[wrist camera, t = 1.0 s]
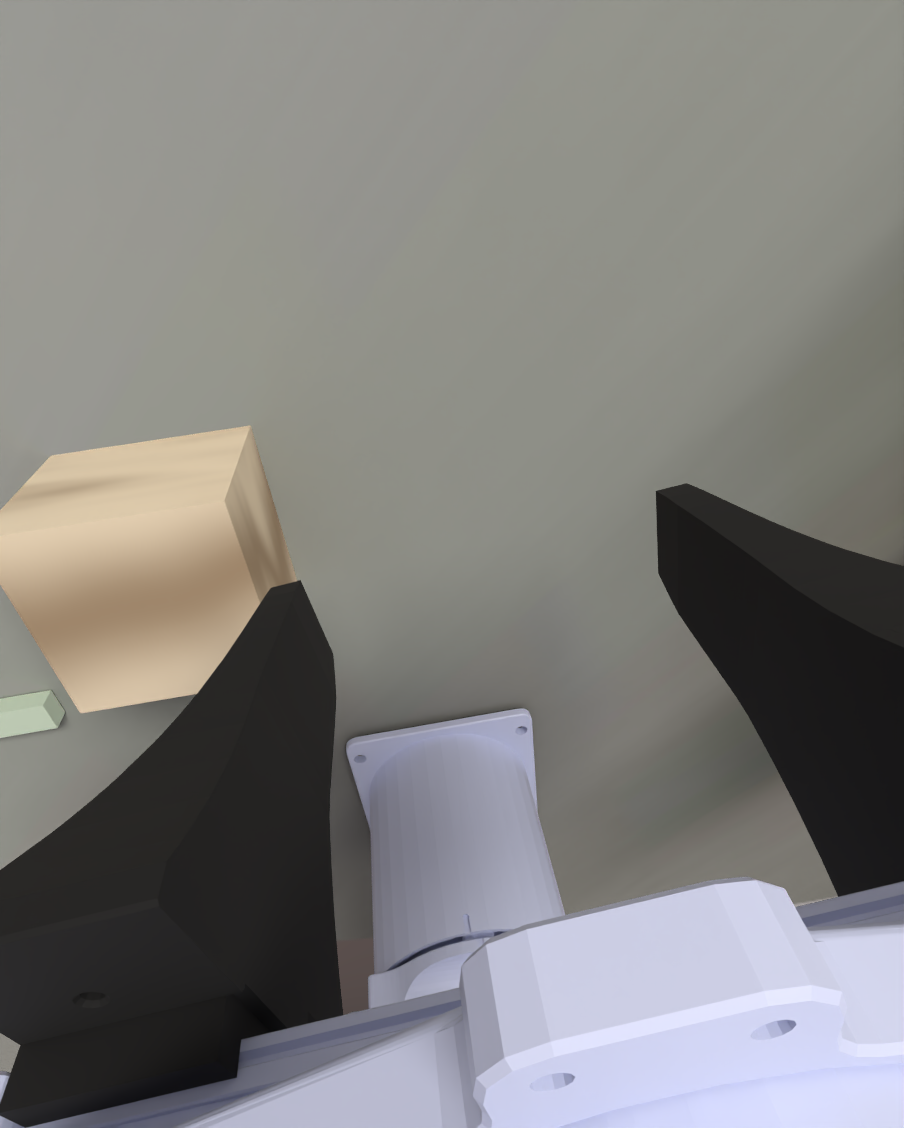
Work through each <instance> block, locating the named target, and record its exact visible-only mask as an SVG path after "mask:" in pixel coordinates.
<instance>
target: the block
mask: <svg viewBox="0 0 904 1128" xmlns="http://www.w3.org/2000/svg"><path fill="white" fill-rule="evenodd" d="M296 581H297V579H296V575H295V572H294V569H293V565H292V562H291V559H290V555H289V552H288V549H287V545H286V542H285V539H284V535H283V532H282V529H281V525H280V522H279V519H278V515H277V512H276V509H275V506H274V502H273V499H272V496H271V492H270V489H269V486H268V482H267V479H266V476H265V472H264V469H263V466H262V462H261V459H260V456H259V452H258V449H257V446H256V442H255V439H254V436H253V432H252V429H251V426H244V427H238V428H231V429H225V430H218V431H211V432H205V433H198V434H192V435H185V436H178V437H172V438H165V439H158V440H152V441H145V442H139V443H132V444H125V445H119V446H112V447H106V448H99V449H92V450H86V451H79V452H73V453H66V454H59V455H53V456H50V457H49V458H48V459H47V460H46V462H45V463H44V464H43V465H42V466H41V467H40V468H39V469H38V470H37V471H36V472H35V473H34V474H33V476H32V477H31V478H30V479H29V480H28V481H27V482H26V483H25V484H24V485H23V486H22V487H21V488H20V490H19V491H18V492H17V493H16V494H15V495H14V496H13V497H12V498H11V499H10V500H9V501H8V502H7V504H6V505H5V506H4V507H3V508H2V509H1V510H0V585H1V586H2V588H3V590H4V591H5V593H6V594H7V596H8V598H9V599H10V601H11V602H12V604H13V606H14V607H15V609H16V610H17V612H18V614H19V615H20V617H21V618H22V620H23V622H24V623H25V625H26V627H27V628H28V630H29V631H30V633H31V635H32V636H33V638H34V639H35V641H36V643H37V644H38V646H39V647H40V649H41V651H42V652H43V654H44V655H45V657H46V659H47V660H48V662H49V663H50V665H51V667H52V668H53V670H54V672H55V673H56V675H57V676H58V678H59V680H60V681H61V683H62V684H63V686H64V688H65V689H66V691H67V692H68V694H69V696H70V697H71V699H72V700H73V702H74V704H75V705H76V707H77V709H78V710H79V712H80V713H86V712H92V711H98V710H104V709H110V708H116V707H122V706H128V705H134V704H140V703H146V702H152V701H158V700H164V699H169V698H175V697H181V696H187V695H193V694H197V693H198V692H199V691H200V689H201V688H202V687H203V685H204V684H205V683H206V681H207V680H208V679H209V677H210V676H211V675H212V673H213V672H214V671H215V669H216V668H217V667H218V665H219V664H220V663H221V661H222V660H223V659H224V657H225V656H226V654H227V653H228V651H229V650H230V648H231V647H232V645H233V644H234V642H235V641H236V639H237V638H238V637H239V635H240V634H241V632H242V631H243V629H244V628H245V626H246V625H247V623H248V621H249V620H250V618H251V617H252V615H253V614H254V612H255V611H256V609H257V608H258V606H259V604H260V603H261V601H262V600H263V598H264V597H265V595H266V594H267V592H268V591H269V590H270V588H272V587H276V586H280V585H284V584H288V583H292V582H296Z"/></svg>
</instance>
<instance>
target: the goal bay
mask: <svg viewBox="0 0 904 1128" xmlns="http://www.w3.org/2000/svg"><path fill="white" fill-rule="evenodd" d="M64 714H65V711H64V709H63V708H62V706H61V705H60V703H59V702H58V700H57V698H56V697H55V695H54V694H53V692H52V691H51V690H49V691H43V692H37V693H31V694H25V695H19V696H14V697H8V698H2V699H0V738H2V737H8V736H14V735H20V734H26V733H32V732H37V731H43V730H49V729H55V728H58V726H59V724H60V722H61V720H62V718H63V716H64Z"/></svg>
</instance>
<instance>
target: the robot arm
mask: <svg viewBox="0 0 904 1128" xmlns="http://www.w3.org/2000/svg"><path fill="white" fill-rule="evenodd" d="M656 509H657V542H658V573H659V575H660V577H661V579H662V582H663V584H664V586H665V588H666V590H667V592H668V594H669V596H670V598H671V600H672V602H673V604H674V606H675V608H676V610H677V611H678V613H679V615H680V616H681V618H682V619H683V621H684V622H685V624H686V625H687V627H688V628H689V630H690V631H691V633H692V634H693V635H694V637H695V638H696V640H697V641H698V643H699V644H700V646H701V647H702V648H703V650H704V651H705V653H706V654H707V656H708V657H709V658H710V660H711V661H712V663H713V664H714V666H715V667H716V668H717V670H718V671H719V673H720V674H721V676H722V677H723V678H724V680H725V681H726V683H727V684H728V686H729V687H730V688H731V690H732V691H733V693H734V694H735V696H736V697H737V699H738V700H739V702H740V703H741V705H742V707H743V708H744V710H745V711H746V713H747V715H748V716H749V718H750V720H751V722H752V723H753V725H754V727H755V729H756V731H757V733H758V735H759V736H760V738H761V740H762V742H763V744H764V746H765V747H766V749H767V751H768V753H769V755H770V757H771V758H772V760H773V762H774V764H775V766H776V768H777V770H778V772H779V774H780V776H781V778H782V780H783V782H784V784H785V786H786V788H787V790H788V791H789V793H790V795H791V797H792V799H793V801H794V803H795V805H796V807H797V809H798V811H799V813H800V816H801V818H802V820H803V822H804V824H805V826H806V828H807V830H808V832H809V834H810V836H811V838H812V840H813V842H814V844H815V847H816V849H817V851H818V853H819V855H820V857H821V859H822V861H823V864H824V866H825V868H826V870H827V872H828V875H829V877H830V879H831V881H832V883H833V886H834V888H835V890H836V892H837V895H838V897H836V898H832V899H827V900H823V901H819V902H815V903H811V904H806V905H802V906H798V907H794V905H793V903H792V901H791V899H790V897H789V896H788V894H787V892H786V890H785V889H784V888H782V887H779V886H776V885H773V884H770V883H767V882H763V881H760V880H757V879H753V878H750V877H738V878H728V879H719V880H709V881H705V882H701V883H697V884H693V885H688V886H684V887H680V888H676V889H672V890H668V891H663V892H659V893H655V894H651V895H647V896H643V897H638V898H634V899H630V900H626V901H622V902H618V903H613V904H609V905H605V906H601V907H597V908H593V909H588V910H584V911H580V912H576V913H572V914H568V915H565V912H564V909H563V905H562V901H561V898H560V894H559V890H558V887H557V883H556V879H555V876H554V872H553V868H552V864H551V861H550V857H549V853H548V850H547V846H546V842H545V839H544V835H543V831H542V828H541V824H540V820H539V817H538V811H537V795H536V779H535V762H534V746H533V730H532V719H531V715H530V712H529V711H528V710H526V709H523V708H520V709H513V710H507V711H502V712H496V713H490V714H484V715H479V716H473V717H467V718H462V719H456V720H450V721H445V722H439V723H433V724H428V725H422V726H416V727H411V728H405V729H399V730H394V731H388V732H382V733H377V734H371V735H365V736H360V737H355V738H352V739H350V740H349V741H348V742H347V744H346V753H347V756H348V760H349V763H350V766H351V769H352V773H353V776H354V779H355V782H356V786H357V789H358V792H359V795H360V798H361V802H362V805H363V808H364V811H365V815H366V818H367V821H368V824H369V828H370V831H371V866H372V903H373V940H374V974H373V975H370V976H369V977H368V1004H369V1009H367V1010H363V1011H356V1012H351V1013H349V1014H346V1015H343V1009H342V999H341V989H340V979H339V968H338V956H337V943H336V931H335V918H334V903H333V886H332V869H331V847H330V822H329V811H330V786H331V772H332V758H333V743H334V728H335V712H336V685H335V671H334V659H333V653H332V650H331V648H330V646H329V644H328V641H327V639H326V637H325V635H324V632H323V630H322V628H321V626H320V623H319V621H318V619H317V617H316V614H315V612H314V610H313V607H312V605H311V603H310V601H309V598H308V596H307V594H306V592H305V589H304V587H303V585H302V583H301V580H300V581H296V582H292V583H288V584H284V585H280V586H276V587H272V588H270V590H269V591H268V592H267V594H266V595H265V597H264V598H263V600H262V601H261V603H260V604H259V606H258V608H257V609H256V611H255V612H254V614H253V615H252V617H251V618H250V620H249V621H248V623H247V625H246V626H245V628H244V629H243V631H242V632H241V634H240V635H239V637H238V638H237V639H236V641H235V642H234V644H233V645H232V647H231V648H230V650H229V651H228V653H227V654H226V656H225V657H224V659H223V660H222V661H221V663H220V664H219V665H218V667H217V668H216V669H215V671H214V672H213V673H212V675H211V676H210V677H209V679H208V680H207V681H206V683H205V684H204V685H203V687H202V688H201V689H200V691H199V692H198V693H197V695H196V696H195V697H194V698H193V699H192V701H191V702H190V703H189V704H188V706H187V707H186V708H185V709H184V710H183V711H182V713H181V714H180V715H179V716H178V717H177V718H176V719H175V720H174V722H173V723H172V724H171V725H170V726H169V727H168V728H167V729H166V730H165V731H164V733H163V734H162V735H161V736H160V737H159V738H158V739H157V740H156V741H155V742H154V743H153V744H152V745H151V746H150V747H149V748H148V749H147V750H146V751H145V752H144V753H143V754H142V755H141V756H140V757H139V758H138V759H137V760H136V761H134V762H133V763H132V764H131V765H130V766H129V767H128V768H127V769H126V770H125V771H124V772H123V773H122V774H121V775H120V776H119V777H118V778H117V779H116V780H115V781H114V782H112V783H111V784H110V785H109V786H108V787H107V788H106V789H104V790H103V791H102V792H101V793H100V794H99V795H97V796H96V797H95V798H94V799H93V800H92V801H91V802H89V803H88V804H87V805H86V806H84V807H83V808H82V809H81V810H80V811H78V812H77V813H76V814H75V815H73V816H72V817H71V818H70V819H69V820H67V821H66V822H65V823H64V824H62V825H61V826H60V827H58V828H57V829H56V830H55V831H53V832H52V833H51V834H49V835H48V836H47V837H45V838H44V839H42V840H41V841H40V842H38V843H37V844H36V845H34V846H33V847H31V848H30V849H29V850H27V851H26V852H25V853H23V854H22V855H20V856H19V857H18V858H16V859H15V860H14V861H12V862H11V863H9V864H8V865H7V866H5V867H4V868H3V869H1V870H0V1033H2V1034H3V1035H5V1036H6V1037H8V1038H10V1039H11V1040H13V1041H15V1042H16V1043H18V1044H20V1045H21V1046H20V1048H19V1051H18V1054H17V1057H16V1060H15V1063H14V1065H13V1068H12V1071H11V1073H9V1072H6V1071H0V1128H904V566H901V565H897V564H893V563H889V562H886V561H882V560H879V559H875V558H872V557H869V556H865V555H862V554H858V553H855V552H852V551H848V550H845V549H842V548H839V547H836V546H833V545H830V544H827V543H825V542H822V541H819V540H817V539H814V538H811V537H809V536H806V535H803V534H801V533H798V532H796V531H793V530H791V529H788V528H786V527H783V526H781V525H779V524H776V523H774V522H772V521H769V520H767V519H765V518H762V517H760V516H758V515H756V514H753V513H751V512H749V511H747V510H745V509H742V508H740V507H738V506H736V505H734V504H732V503H730V502H727V501H725V500H723V499H721V498H719V497H717V496H714V495H712V494H710V493H708V492H706V491H704V490H701V489H699V488H697V487H694V486H692V485H689V484H687V483H686V484H682V485H678V486H674V487H670V488H666V489H662V490H658V491H656ZM521 726H523V727H521ZM518 727H521V728H518ZM358 755H363V756H358Z"/></svg>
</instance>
